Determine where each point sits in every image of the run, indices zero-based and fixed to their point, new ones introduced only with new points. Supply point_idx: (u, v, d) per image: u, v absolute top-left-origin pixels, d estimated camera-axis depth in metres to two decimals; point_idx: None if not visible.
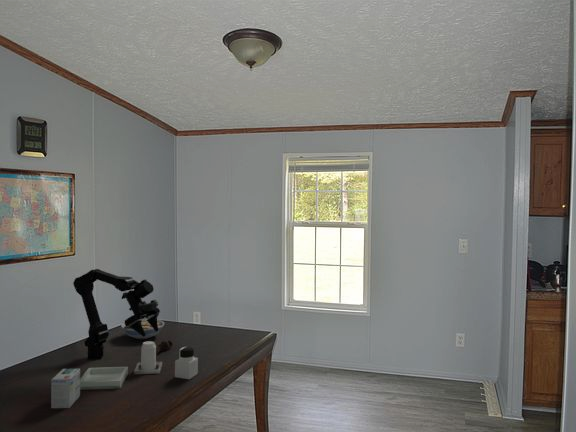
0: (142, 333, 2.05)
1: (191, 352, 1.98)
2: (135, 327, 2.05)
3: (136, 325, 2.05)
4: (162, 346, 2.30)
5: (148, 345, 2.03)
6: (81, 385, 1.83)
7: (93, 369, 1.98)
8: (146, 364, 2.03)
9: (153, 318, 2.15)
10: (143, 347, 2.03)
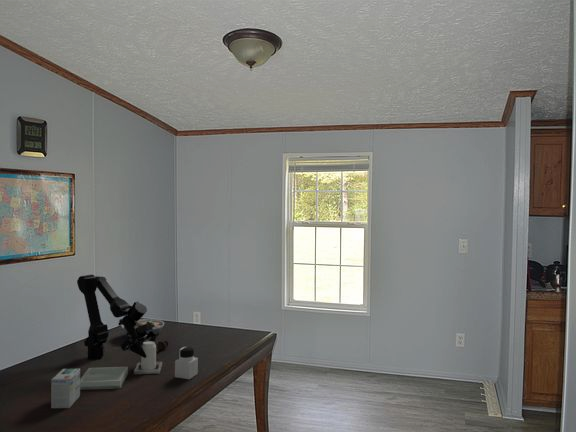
0: (143, 354, 2.02)
1: (191, 352, 1.98)
2: (135, 349, 2.03)
3: (136, 347, 2.03)
4: (160, 346, 2.30)
5: (148, 345, 2.03)
6: (81, 385, 1.83)
7: (93, 369, 1.98)
8: (146, 363, 2.03)
9: None
10: (143, 347, 2.03)
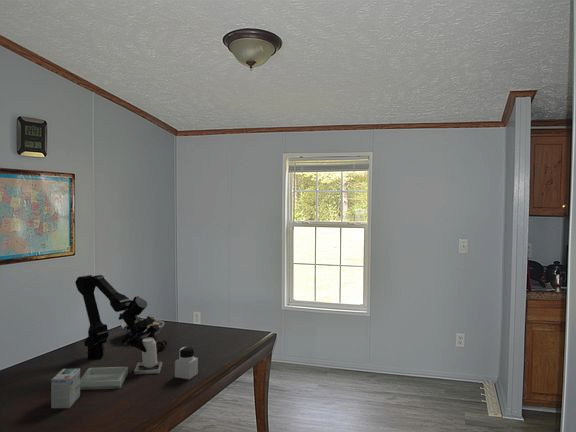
0: (143, 349, 2.02)
1: (191, 352, 1.98)
2: (135, 344, 2.03)
3: (136, 342, 2.03)
4: (159, 346, 2.30)
5: (147, 342, 2.03)
6: (81, 385, 1.83)
7: (93, 369, 1.98)
8: (147, 360, 2.03)
9: (150, 335, 2.10)
10: (143, 344, 2.03)
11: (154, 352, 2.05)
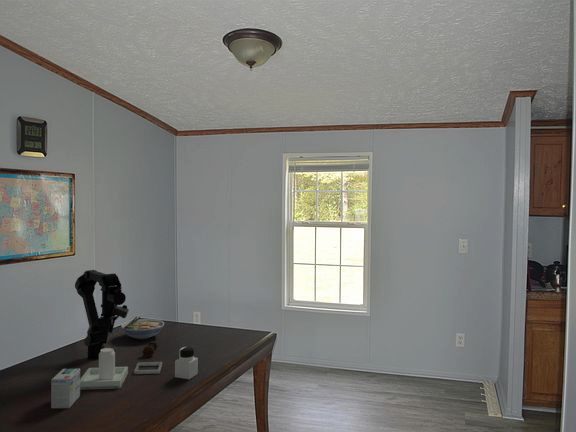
0: (106, 335, 2.06)
1: (191, 352, 1.98)
2: (102, 327, 2.05)
3: (104, 326, 2.06)
4: (153, 346, 2.29)
5: (102, 352, 1.90)
6: (81, 385, 1.83)
7: (93, 369, 1.98)
8: (100, 372, 1.90)
9: (113, 320, 2.17)
10: (99, 353, 1.91)
11: (107, 365, 1.89)
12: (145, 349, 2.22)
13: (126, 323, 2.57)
